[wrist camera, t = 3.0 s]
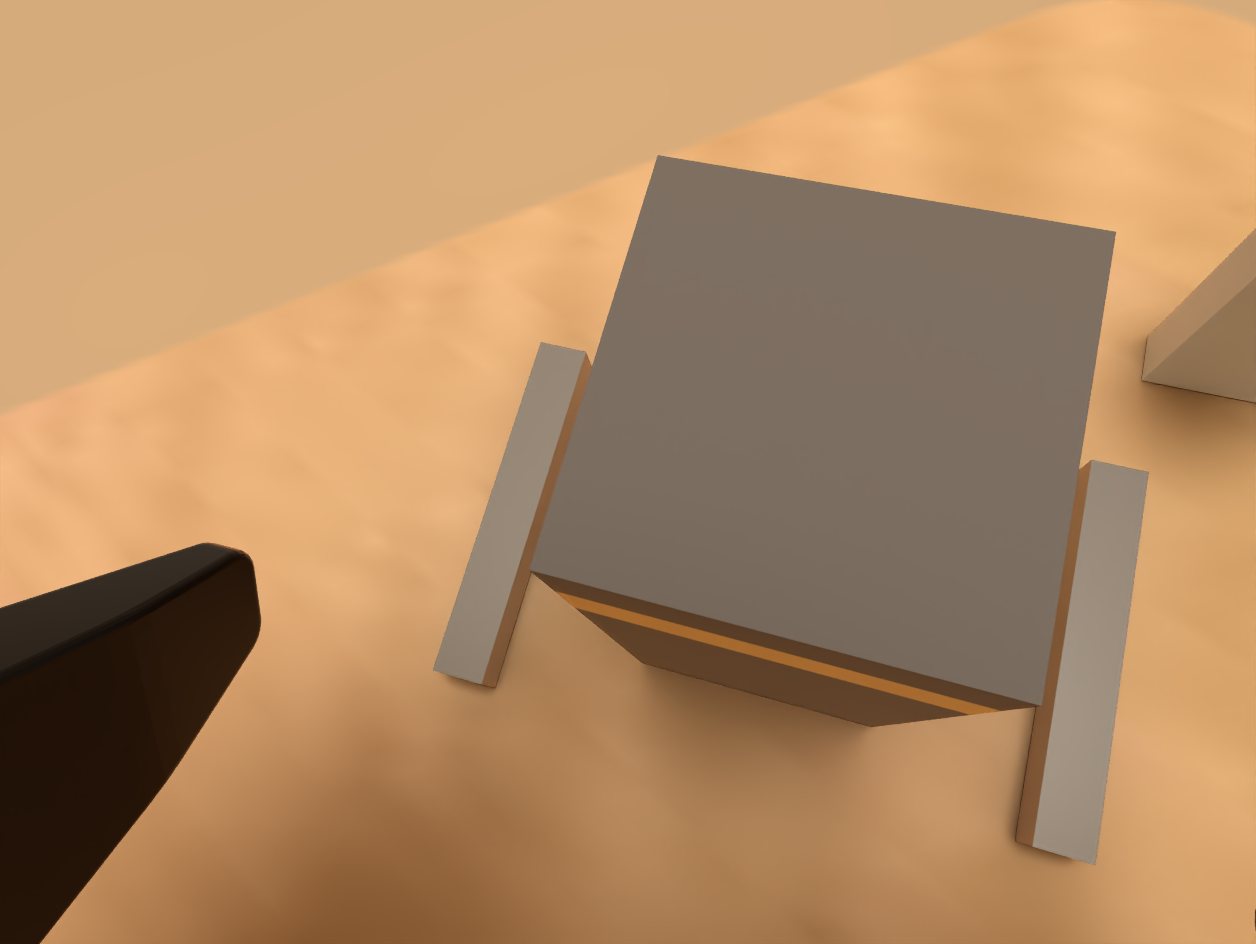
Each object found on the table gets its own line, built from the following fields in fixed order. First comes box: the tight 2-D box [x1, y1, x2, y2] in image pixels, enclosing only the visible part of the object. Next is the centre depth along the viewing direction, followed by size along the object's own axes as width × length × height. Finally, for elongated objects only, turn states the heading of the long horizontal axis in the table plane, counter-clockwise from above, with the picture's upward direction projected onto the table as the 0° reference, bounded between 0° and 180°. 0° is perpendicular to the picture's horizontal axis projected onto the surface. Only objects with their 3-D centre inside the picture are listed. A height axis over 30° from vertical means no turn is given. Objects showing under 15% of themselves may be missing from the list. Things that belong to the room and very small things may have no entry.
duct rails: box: [433, 229, 1256, 865], centre depth 14 cm, size 10×23×6 cm, turn 74°
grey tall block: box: [529, 155, 1116, 727], centre depth 13 cm, size 4×4×10 cm
